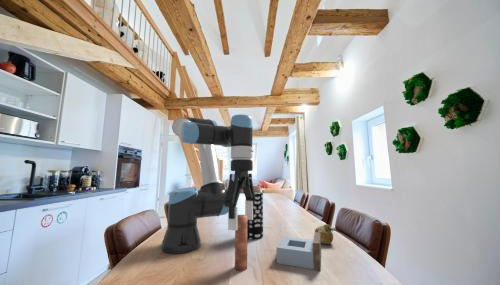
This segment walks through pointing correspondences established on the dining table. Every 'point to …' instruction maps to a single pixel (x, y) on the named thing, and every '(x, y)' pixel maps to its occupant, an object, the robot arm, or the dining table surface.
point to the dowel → (241, 244)
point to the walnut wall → (317, 251)
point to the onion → (326, 233)
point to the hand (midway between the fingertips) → (241, 224)
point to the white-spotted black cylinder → (256, 219)
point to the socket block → (295, 252)
